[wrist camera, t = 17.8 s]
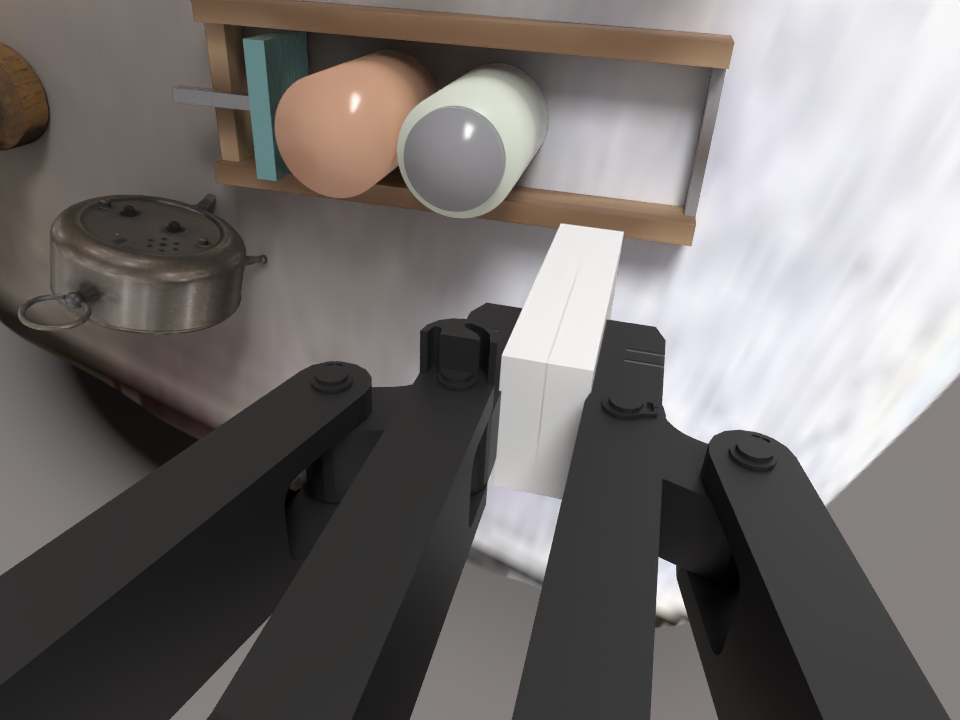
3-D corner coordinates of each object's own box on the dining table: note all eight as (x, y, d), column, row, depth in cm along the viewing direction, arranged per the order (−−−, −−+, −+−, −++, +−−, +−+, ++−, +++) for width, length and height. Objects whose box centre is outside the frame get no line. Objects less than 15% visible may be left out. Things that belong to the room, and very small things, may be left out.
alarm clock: (137, 230, 52) (-56, 333, 39) (139, 159, 50) (-70, 242, 36) (277, 283, 52) (130, 405, 38) (286, 213, 49) (131, 319, 35)
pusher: (193, 20, 43) (140, 29, 39) (306, 30, 42) (263, 40, 38) (210, 146, 47) (164, 166, 43) (314, 159, 46) (276, 181, 42)
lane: (220, -6, 43) (190, -3, 40) (730, 35, 38) (734, 42, 35) (240, 170, 48) (215, 182, 46) (691, 228, 43) (691, 246, 40)
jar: (450, 57, 41) (391, 87, 33) (554, 69, 40) (521, 103, 32) (445, 163, 45) (391, 214, 36) (542, 176, 43) (509, 232, 35)
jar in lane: (343, 45, 43) (268, 68, 35) (442, 53, 41) (387, 79, 34) (348, 149, 46) (280, 191, 38) (440, 159, 44) (389, 204, 37)
